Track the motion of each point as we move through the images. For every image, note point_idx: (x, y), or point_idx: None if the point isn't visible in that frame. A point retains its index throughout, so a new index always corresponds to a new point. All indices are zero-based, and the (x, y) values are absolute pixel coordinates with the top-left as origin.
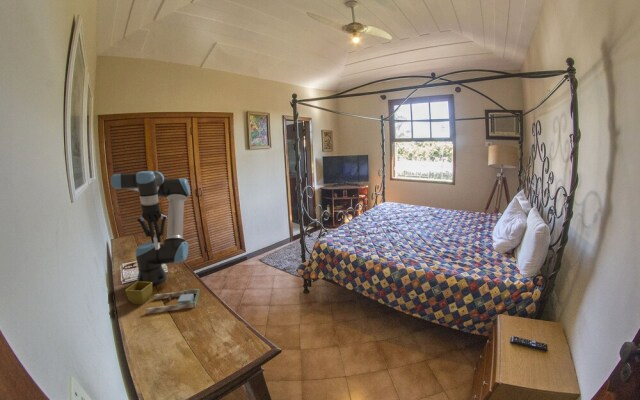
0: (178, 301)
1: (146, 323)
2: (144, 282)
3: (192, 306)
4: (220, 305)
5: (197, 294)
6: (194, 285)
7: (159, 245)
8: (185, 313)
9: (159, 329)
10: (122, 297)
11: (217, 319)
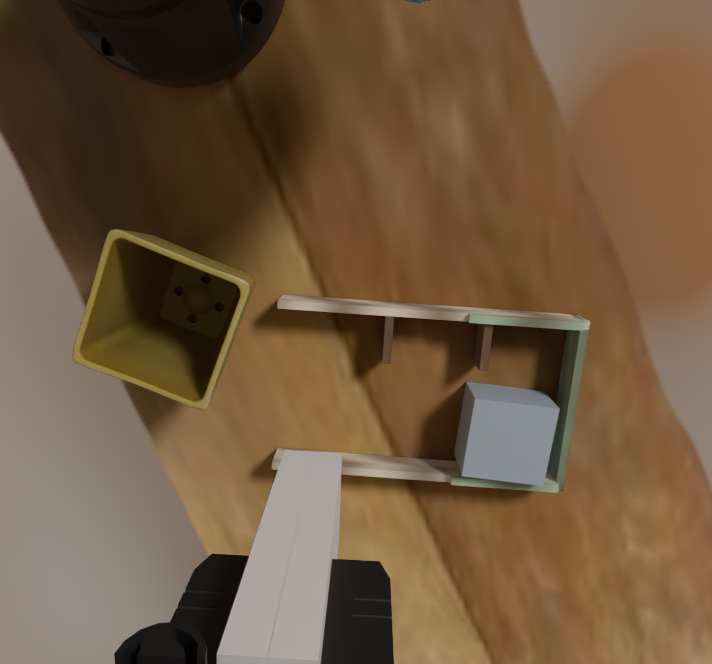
0: (467, 475)
1: None
2: (180, 261)
3: None
4: (702, 503)
5: (578, 392)
6: (534, 174)
7: (338, 494)
8: (500, 519)
9: None
10: (43, 193)
11: (673, 624)
